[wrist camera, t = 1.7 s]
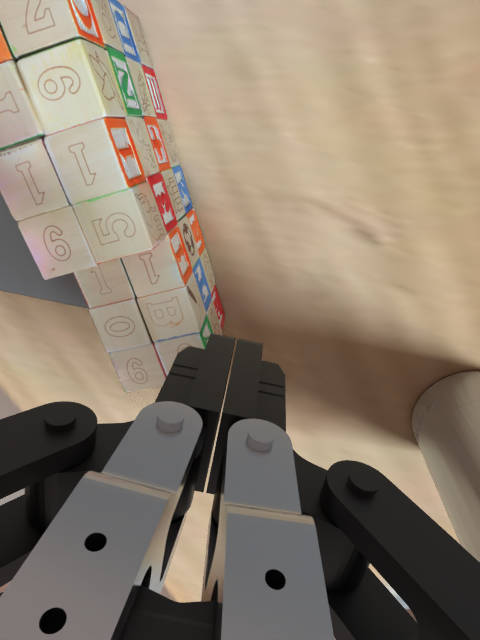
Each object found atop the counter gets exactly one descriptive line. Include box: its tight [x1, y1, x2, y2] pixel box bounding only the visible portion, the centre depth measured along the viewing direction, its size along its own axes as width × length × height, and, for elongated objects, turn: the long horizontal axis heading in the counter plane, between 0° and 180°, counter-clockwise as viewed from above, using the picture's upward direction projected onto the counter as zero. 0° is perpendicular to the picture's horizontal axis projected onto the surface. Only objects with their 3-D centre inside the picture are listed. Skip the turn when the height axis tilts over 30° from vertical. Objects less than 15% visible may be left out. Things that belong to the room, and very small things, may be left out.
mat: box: [0, 192, 89, 308], centre depth 32 cm, size 11×20×1 cm, turn 170°
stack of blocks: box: [0, 0, 225, 393], centre depth 26 cm, size 21×6×12 cm, turn 15°
